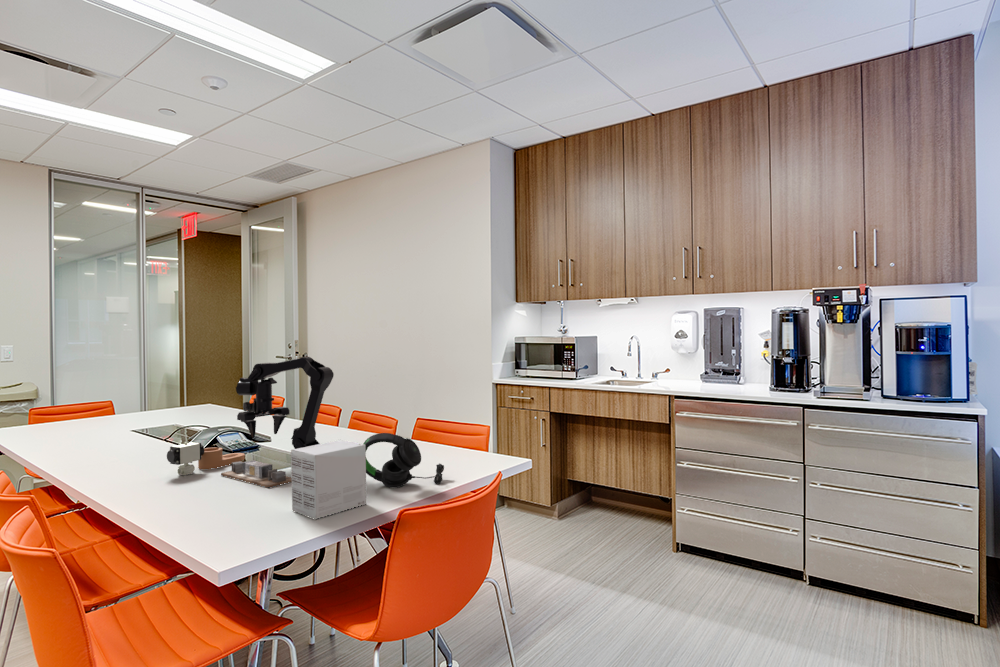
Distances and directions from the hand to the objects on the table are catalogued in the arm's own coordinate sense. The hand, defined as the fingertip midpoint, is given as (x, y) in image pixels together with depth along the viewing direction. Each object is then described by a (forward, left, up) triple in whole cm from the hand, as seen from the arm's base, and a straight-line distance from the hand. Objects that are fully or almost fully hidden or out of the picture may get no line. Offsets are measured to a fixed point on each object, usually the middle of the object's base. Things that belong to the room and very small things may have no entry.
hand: (264, 435), depth 210 cm
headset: (-55, +32, -12) cm, 65 cm away
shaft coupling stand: (-3, +17, -12) cm, 21 cm away
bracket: (+19, -8, -12) cm, 24 cm away
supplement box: (-36, +54, -12) cm, 66 cm away
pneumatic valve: (+26, +7, -12) cm, 30 cm away
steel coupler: (-3, +17, -11) cm, 20 cm away
